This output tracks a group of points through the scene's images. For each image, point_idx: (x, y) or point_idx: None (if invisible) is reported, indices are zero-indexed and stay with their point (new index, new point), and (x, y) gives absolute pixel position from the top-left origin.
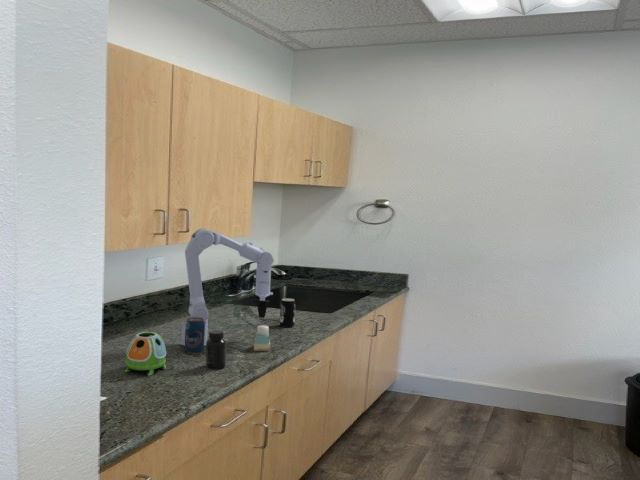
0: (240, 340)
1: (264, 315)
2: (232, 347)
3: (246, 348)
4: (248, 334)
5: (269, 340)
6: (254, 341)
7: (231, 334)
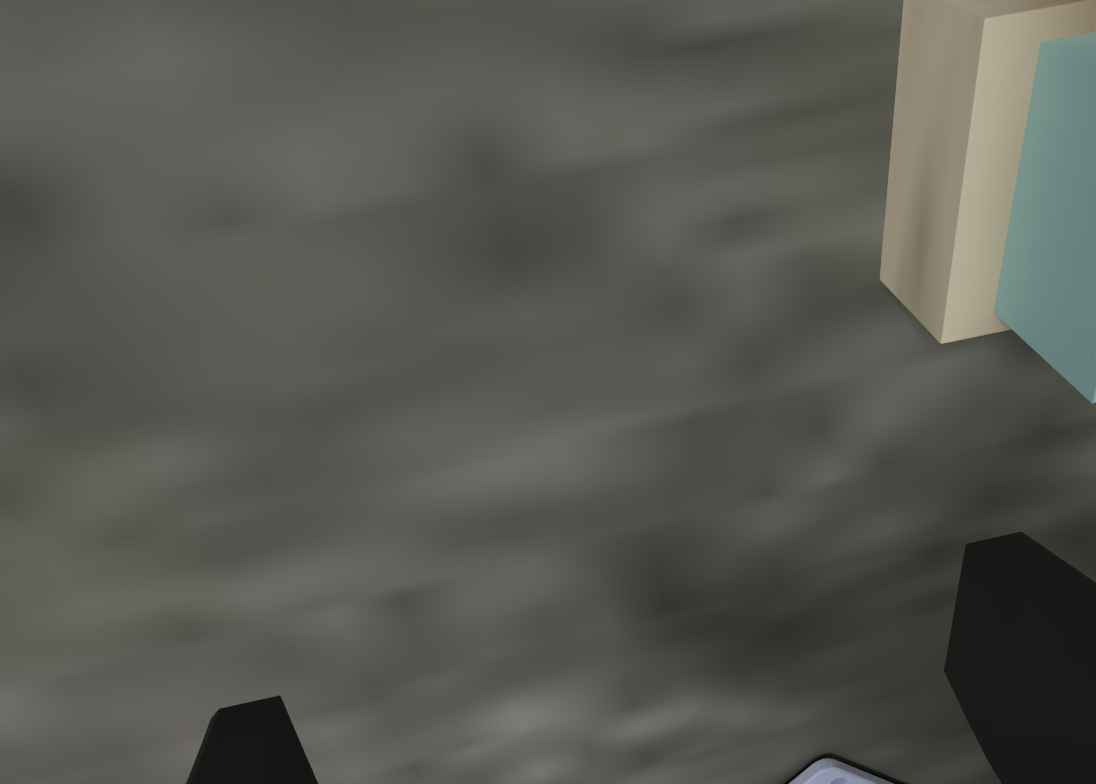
0: (538, 551)
1: (1088, 590)
2: (947, 537)
3: (1011, 360)
4: (65, 553)
5: (1025, 28)
6: None
7: None
